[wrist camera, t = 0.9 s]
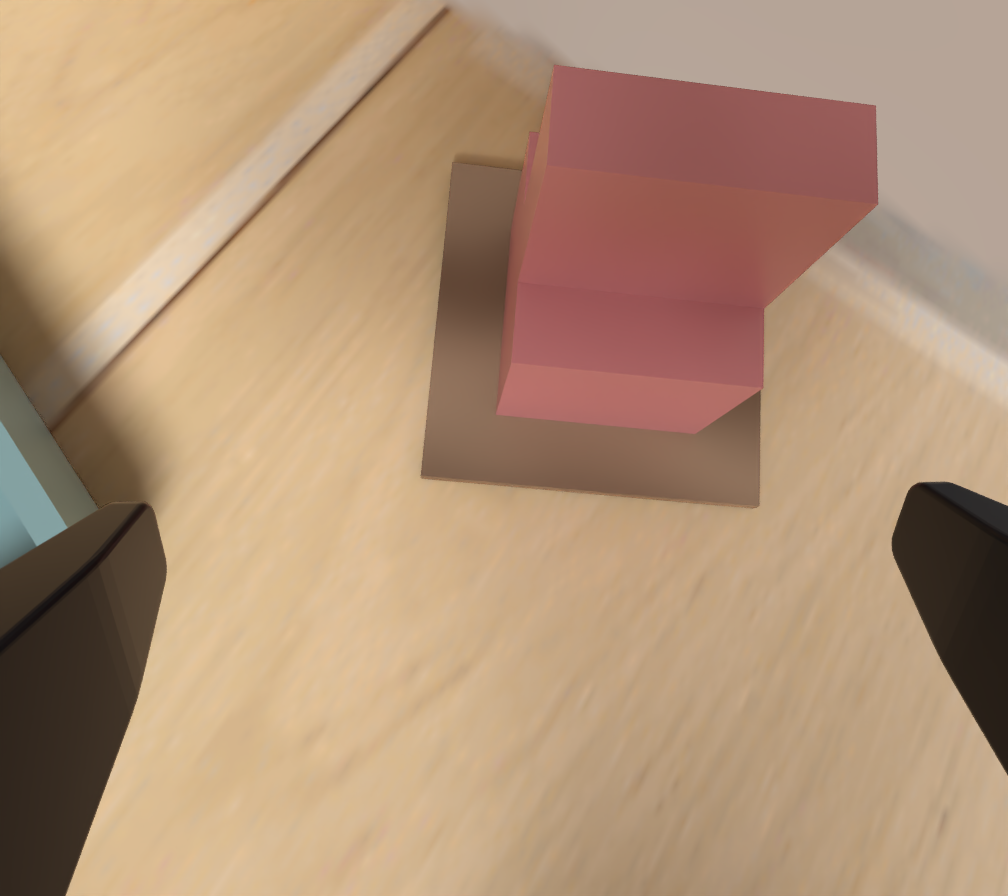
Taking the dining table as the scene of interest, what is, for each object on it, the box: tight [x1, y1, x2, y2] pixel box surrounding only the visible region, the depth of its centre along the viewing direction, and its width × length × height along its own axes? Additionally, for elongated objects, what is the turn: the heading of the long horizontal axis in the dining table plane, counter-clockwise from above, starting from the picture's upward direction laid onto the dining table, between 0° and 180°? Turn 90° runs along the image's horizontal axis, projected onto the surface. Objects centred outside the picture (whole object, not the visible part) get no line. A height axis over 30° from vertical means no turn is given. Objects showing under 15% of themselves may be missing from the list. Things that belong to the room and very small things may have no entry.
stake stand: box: [421, 162, 761, 508], centre depth 22 cm, size 10×10×4 cm
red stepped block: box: [496, 65, 878, 434], centre depth 19 cm, size 7×6×10 cm
